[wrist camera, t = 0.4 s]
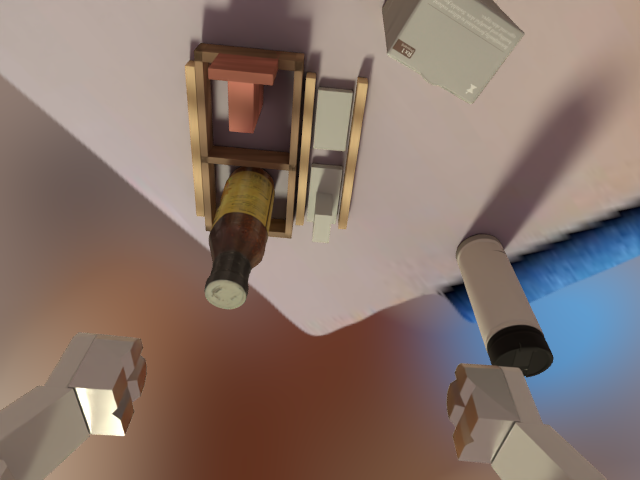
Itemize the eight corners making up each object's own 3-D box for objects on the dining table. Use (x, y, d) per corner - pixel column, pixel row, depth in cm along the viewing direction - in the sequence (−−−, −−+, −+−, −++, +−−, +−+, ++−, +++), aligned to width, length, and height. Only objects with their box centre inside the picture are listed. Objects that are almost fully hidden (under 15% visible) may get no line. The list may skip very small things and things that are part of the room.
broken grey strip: (318, 86, 53) (316, 106, 48) (352, 90, 53) (354, 110, 48) (307, 217, 63) (304, 244, 58) (335, 219, 63) (335, 246, 58)
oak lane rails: (189, 60, 51) (184, 65, 50) (366, 78, 52) (367, 84, 50) (200, 207, 63) (196, 215, 61) (345, 220, 63) (346, 229, 62)
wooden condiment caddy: (200, 43, 50) (180, 65, 43) (304, 53, 50) (300, 77, 44) (210, 217, 63) (196, 254, 57) (292, 225, 63) (288, 262, 57)
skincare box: (484, -11, 47) (540, 26, 34) (440, 55, 50) (475, 111, 38) (412, -58, 44) (443, -38, 32) (372, 15, 48) (385, 59, 35)
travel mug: (504, 229, 63) (562, 344, 47) (498, 267, 67) (549, 385, 51) (457, 232, 64) (498, 347, 48) (453, 270, 68) (490, 387, 52)
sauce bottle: (220, 168, 59) (177, 271, 43) (268, 158, 58) (242, 259, 42) (238, 211, 63) (204, 320, 47) (283, 202, 62) (264, 311, 46)
